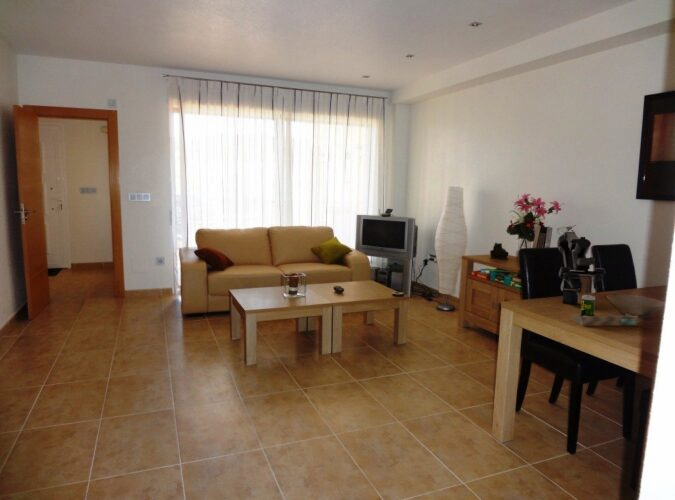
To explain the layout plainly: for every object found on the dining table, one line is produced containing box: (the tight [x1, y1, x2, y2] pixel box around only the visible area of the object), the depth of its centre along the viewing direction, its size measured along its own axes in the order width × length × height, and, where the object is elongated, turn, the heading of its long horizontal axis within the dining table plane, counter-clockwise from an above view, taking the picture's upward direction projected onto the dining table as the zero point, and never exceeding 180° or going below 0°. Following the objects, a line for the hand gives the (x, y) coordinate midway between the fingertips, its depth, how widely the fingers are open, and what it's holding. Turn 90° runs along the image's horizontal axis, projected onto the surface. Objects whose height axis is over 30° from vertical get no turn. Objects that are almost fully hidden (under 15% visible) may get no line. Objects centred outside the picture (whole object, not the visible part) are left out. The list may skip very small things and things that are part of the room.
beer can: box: [579, 294, 596, 317], centre depth 204 cm, size 5×5×12 cm
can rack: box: [571, 313, 639, 327], centre depth 204 cm, size 24×9×4 cm, turn 89°
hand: (584, 288), depth 210 cm, fingers open, 9 cm apart
